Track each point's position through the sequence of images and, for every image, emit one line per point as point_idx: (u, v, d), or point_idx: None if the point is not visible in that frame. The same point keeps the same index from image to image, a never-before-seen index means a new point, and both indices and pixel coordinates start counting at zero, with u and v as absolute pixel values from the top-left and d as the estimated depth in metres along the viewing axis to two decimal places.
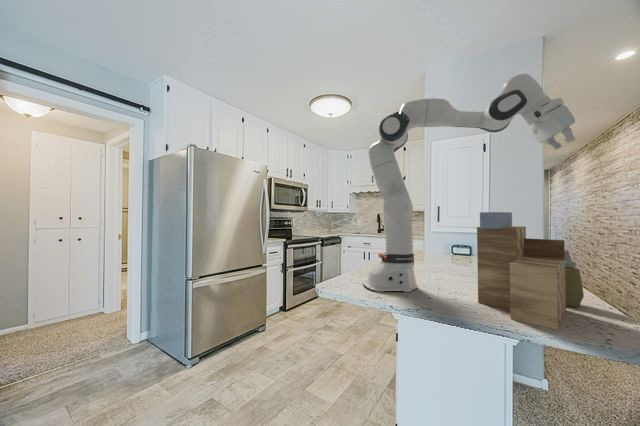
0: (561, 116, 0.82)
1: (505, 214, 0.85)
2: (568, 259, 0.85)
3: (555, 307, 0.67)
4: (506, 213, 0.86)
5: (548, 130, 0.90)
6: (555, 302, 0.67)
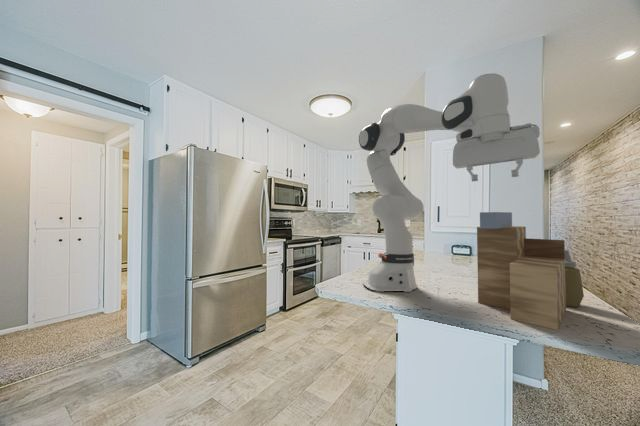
0: None
1: (505, 214, 0.85)
2: (568, 259, 0.85)
3: (555, 307, 0.67)
4: (506, 213, 0.86)
5: None
6: (555, 302, 0.67)
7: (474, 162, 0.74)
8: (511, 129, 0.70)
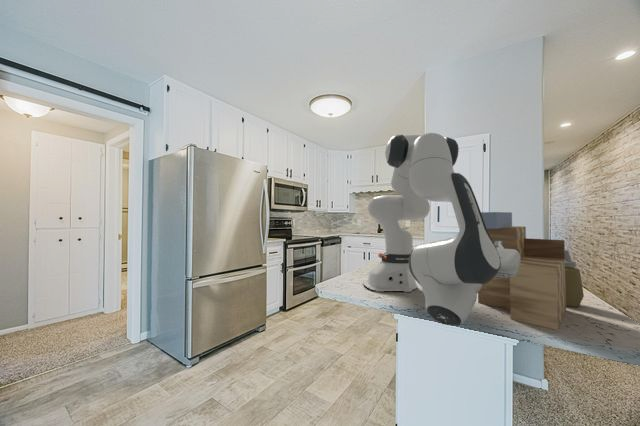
0: None
1: (505, 214, 0.85)
2: (568, 259, 0.85)
3: (555, 307, 0.67)
4: (506, 213, 0.86)
5: None
6: (555, 302, 0.67)
7: None
8: None
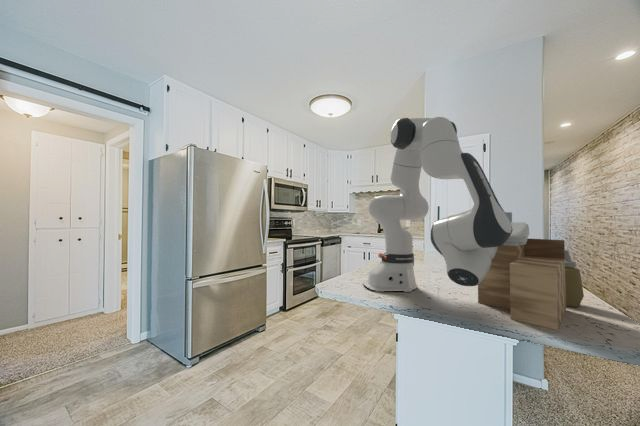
0: None
1: None
2: (568, 259, 0.85)
3: (555, 307, 0.67)
4: (506, 213, 0.86)
5: None
6: (555, 302, 0.67)
7: None
8: None
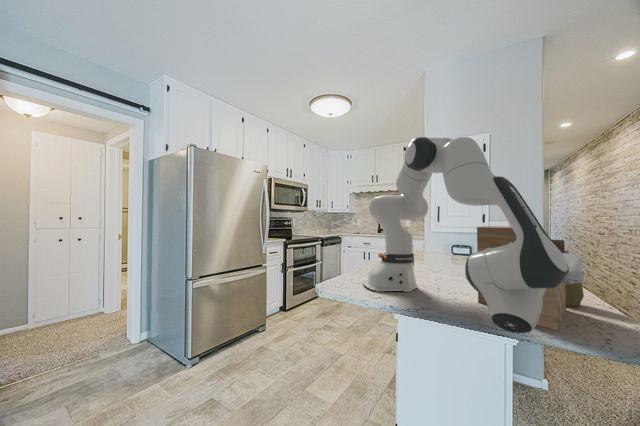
0: None
1: None
2: None
3: (555, 307, 0.67)
4: None
5: None
6: (555, 302, 0.67)
7: None
8: None
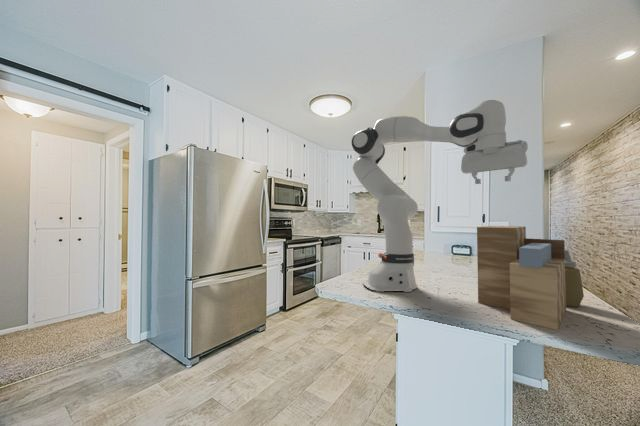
0: None
1: (546, 248, 0.75)
2: (568, 259, 0.85)
3: (555, 307, 0.67)
4: (547, 246, 0.76)
5: None
6: (555, 302, 0.67)
7: (477, 169, 0.97)
8: (506, 144, 0.91)
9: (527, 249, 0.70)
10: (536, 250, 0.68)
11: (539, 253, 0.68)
